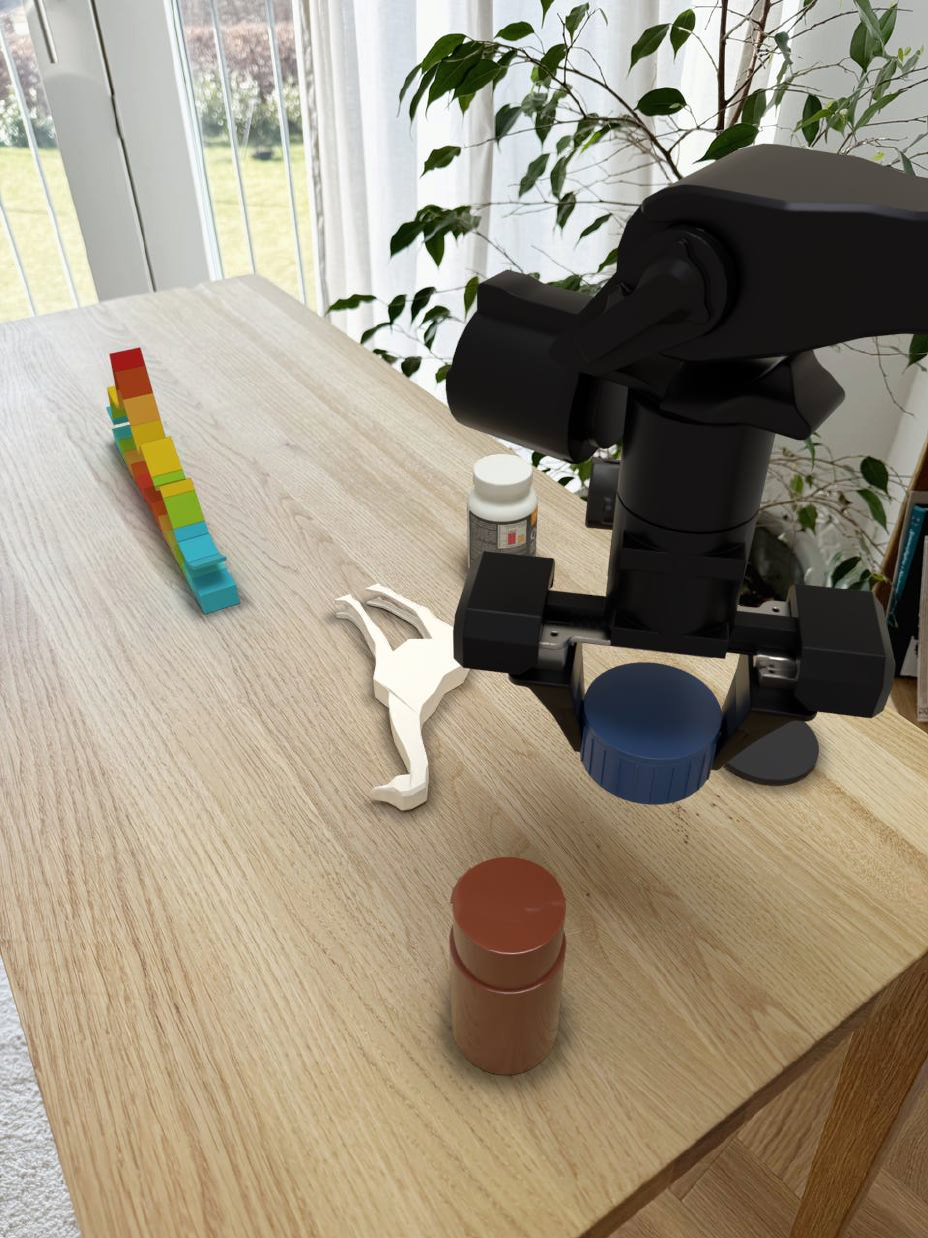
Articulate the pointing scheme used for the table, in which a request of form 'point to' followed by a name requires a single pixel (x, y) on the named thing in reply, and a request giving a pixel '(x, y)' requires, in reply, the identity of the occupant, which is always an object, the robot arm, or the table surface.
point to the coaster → (778, 756)
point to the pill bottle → (502, 507)
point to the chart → (165, 482)
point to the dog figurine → (408, 686)
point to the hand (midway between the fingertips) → (645, 754)
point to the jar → (506, 963)
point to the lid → (649, 732)
